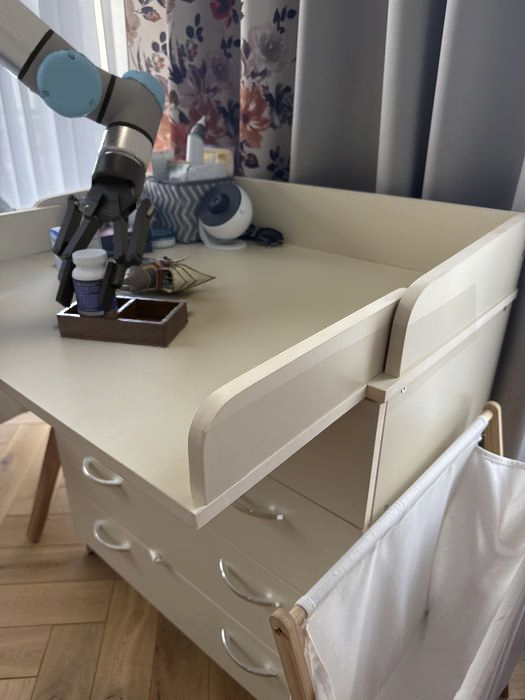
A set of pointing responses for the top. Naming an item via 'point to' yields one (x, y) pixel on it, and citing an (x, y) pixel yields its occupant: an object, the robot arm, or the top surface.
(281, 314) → the top surface
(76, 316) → the tray
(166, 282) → the figurine
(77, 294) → the pill bottle
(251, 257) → the top surface
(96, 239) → the medicine box
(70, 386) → the top surface
